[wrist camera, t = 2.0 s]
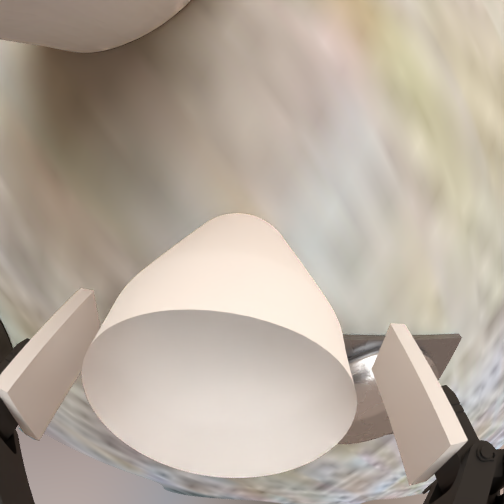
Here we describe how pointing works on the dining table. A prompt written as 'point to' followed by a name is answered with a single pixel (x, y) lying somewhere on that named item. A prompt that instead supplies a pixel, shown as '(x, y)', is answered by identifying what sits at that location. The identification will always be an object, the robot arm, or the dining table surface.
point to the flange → (368, 395)
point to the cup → (223, 357)
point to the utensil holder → (83, 22)
